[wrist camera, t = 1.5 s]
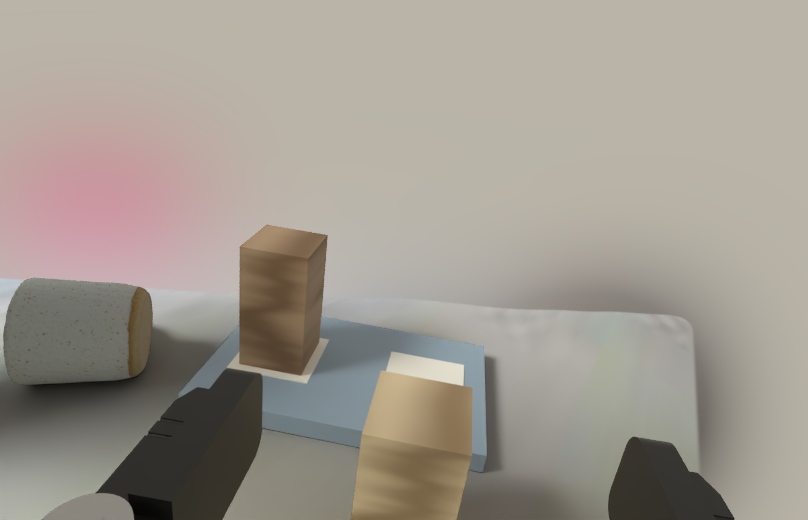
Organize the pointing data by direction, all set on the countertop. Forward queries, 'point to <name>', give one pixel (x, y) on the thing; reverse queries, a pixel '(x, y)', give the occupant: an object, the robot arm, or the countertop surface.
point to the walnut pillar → (281, 298)
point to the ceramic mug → (76, 331)
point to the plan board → (354, 380)
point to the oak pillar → (414, 450)
